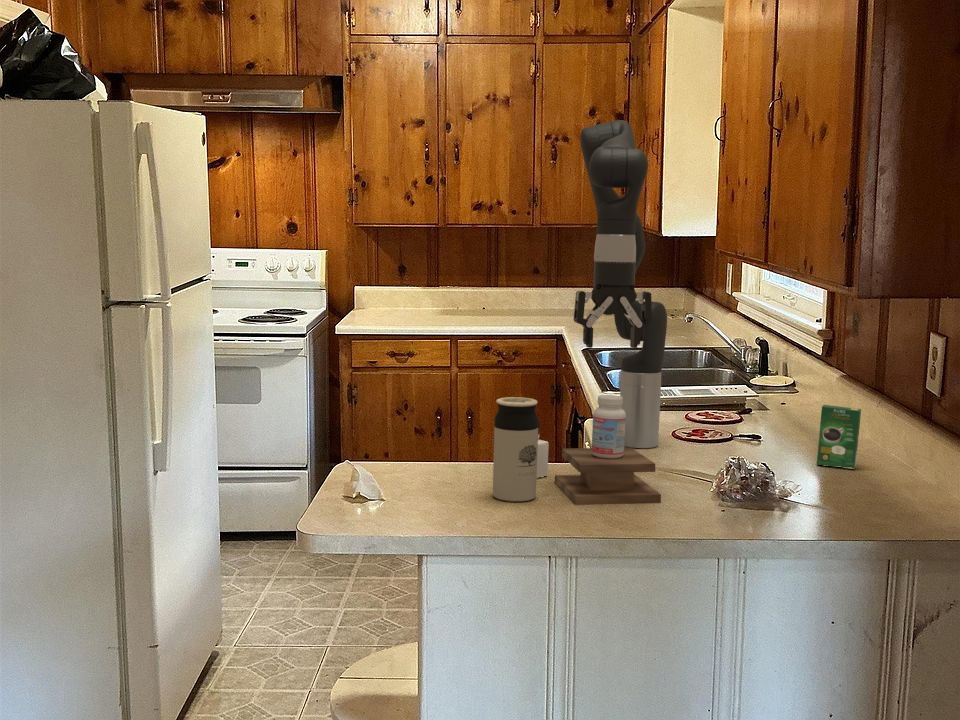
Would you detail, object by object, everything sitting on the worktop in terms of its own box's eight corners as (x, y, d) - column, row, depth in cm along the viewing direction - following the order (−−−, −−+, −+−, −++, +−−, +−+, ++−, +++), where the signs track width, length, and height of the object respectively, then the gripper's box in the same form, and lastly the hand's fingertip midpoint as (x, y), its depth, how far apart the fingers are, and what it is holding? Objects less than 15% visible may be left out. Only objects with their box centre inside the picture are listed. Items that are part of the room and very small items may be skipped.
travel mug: (485, 493, 193) (488, 397, 190) (524, 490, 196) (527, 396, 194) (503, 504, 185) (506, 404, 183) (543, 500, 189) (546, 402, 186)
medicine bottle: (522, 470, 212) (523, 412, 211) (548, 476, 207) (550, 417, 206) (497, 475, 207) (499, 416, 206) (523, 482, 202) (525, 421, 201)
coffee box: (857, 468, 221) (862, 407, 219) (855, 470, 218) (860, 409, 217) (818, 463, 225) (822, 403, 223) (816, 466, 222) (820, 405, 220)
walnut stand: (554, 482, 202) (555, 447, 201) (633, 481, 205) (635, 446, 204) (575, 504, 186) (576, 466, 186) (660, 502, 189) (662, 464, 188)
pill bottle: (585, 455, 194) (587, 396, 193) (602, 450, 199) (605, 393, 198) (612, 460, 191) (615, 400, 189) (630, 455, 195) (632, 396, 194)
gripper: (582, 259, 185) (579, 350, 187) (659, 260, 187) (655, 350, 190) (571, 258, 192) (569, 345, 195) (645, 259, 195) (642, 345, 197)
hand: (611, 347), depth 192 cm, fingers open, 8 cm apart
